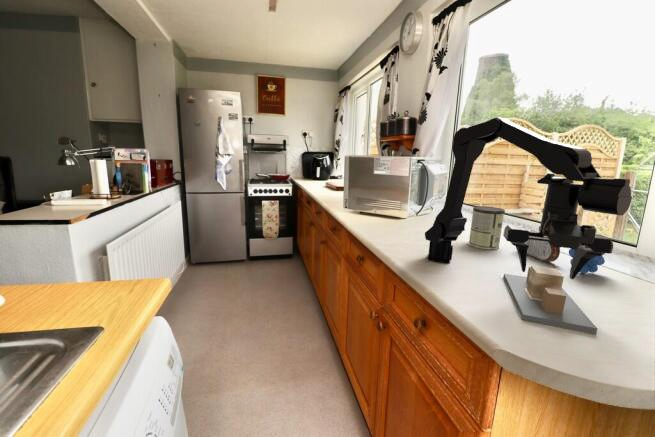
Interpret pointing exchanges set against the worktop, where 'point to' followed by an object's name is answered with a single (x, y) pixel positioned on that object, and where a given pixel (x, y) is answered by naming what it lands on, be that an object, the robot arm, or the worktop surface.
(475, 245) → the coffee can
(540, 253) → the tin
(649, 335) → the worktop surface
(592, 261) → the grapes
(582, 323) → the board
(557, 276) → the maple block
